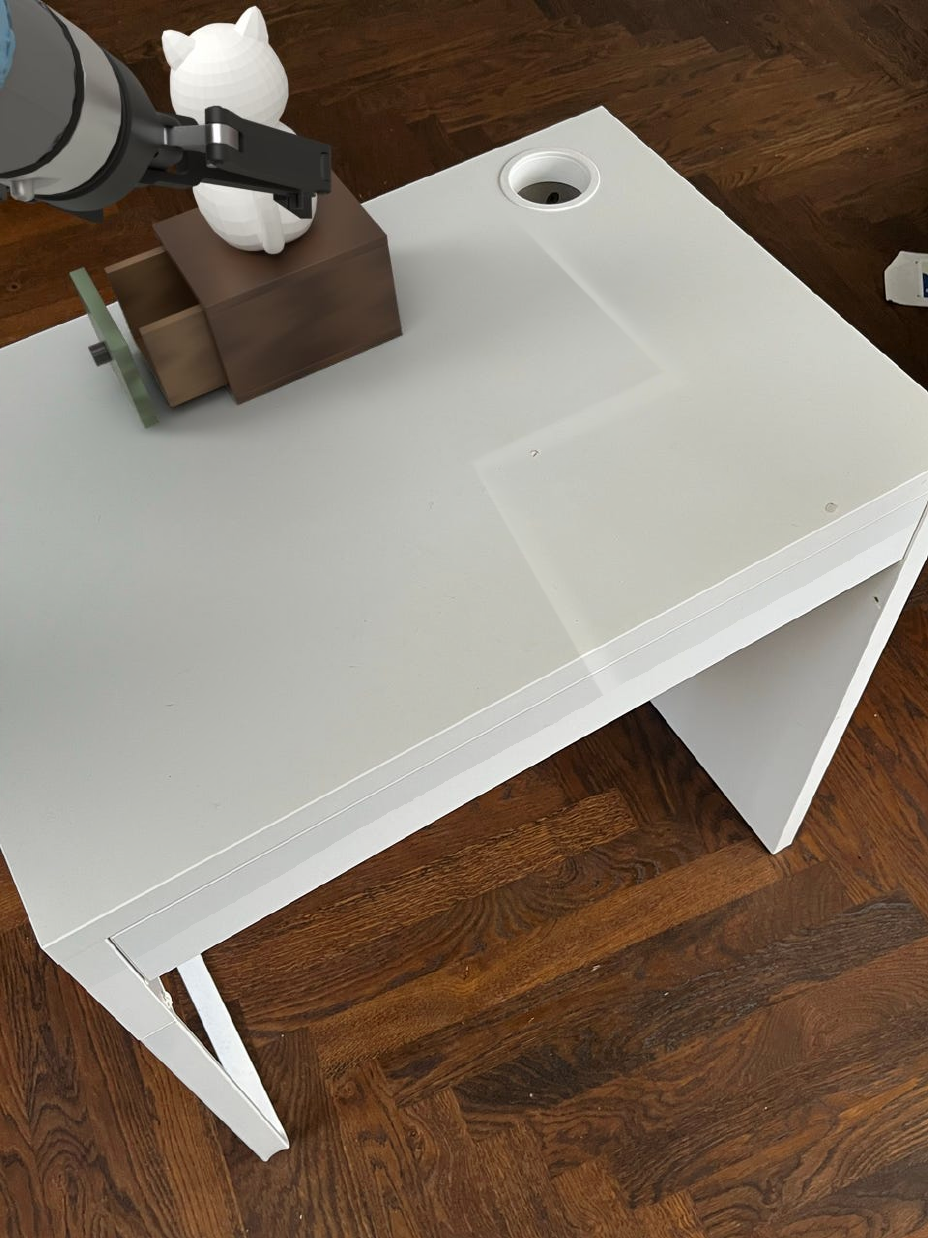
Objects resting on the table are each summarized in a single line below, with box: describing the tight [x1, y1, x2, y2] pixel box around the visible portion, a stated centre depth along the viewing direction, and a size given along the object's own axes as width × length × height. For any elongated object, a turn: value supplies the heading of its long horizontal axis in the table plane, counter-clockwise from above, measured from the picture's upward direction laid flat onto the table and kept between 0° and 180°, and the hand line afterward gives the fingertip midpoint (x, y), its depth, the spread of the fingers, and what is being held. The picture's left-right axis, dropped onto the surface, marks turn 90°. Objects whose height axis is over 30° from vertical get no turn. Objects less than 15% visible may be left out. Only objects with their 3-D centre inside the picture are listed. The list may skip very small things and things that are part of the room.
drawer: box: [69, 246, 228, 429], centre depth 89 cm, size 15×10×8 cm
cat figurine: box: [161, 5, 317, 254], centre depth 81 cm, size 9×12×15 cm
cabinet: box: [151, 169, 403, 406], centre depth 91 cm, size 15×12×10 cm
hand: (200, 198), depth 73 cm, fingers open, 13 cm apart
